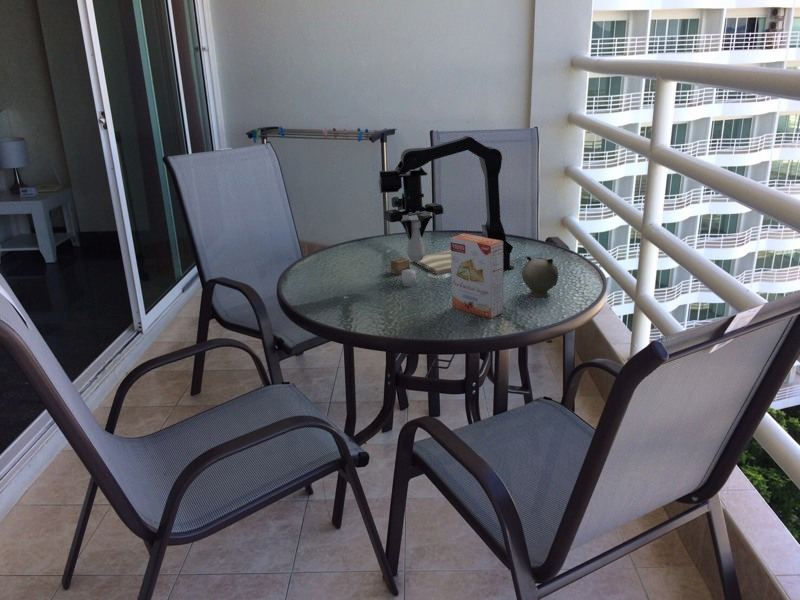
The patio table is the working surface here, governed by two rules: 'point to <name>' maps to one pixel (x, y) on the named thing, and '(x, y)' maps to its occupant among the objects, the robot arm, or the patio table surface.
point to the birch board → (437, 262)
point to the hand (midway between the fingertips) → (415, 238)
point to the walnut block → (399, 265)
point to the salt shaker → (415, 242)
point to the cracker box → (477, 275)
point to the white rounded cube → (409, 277)
